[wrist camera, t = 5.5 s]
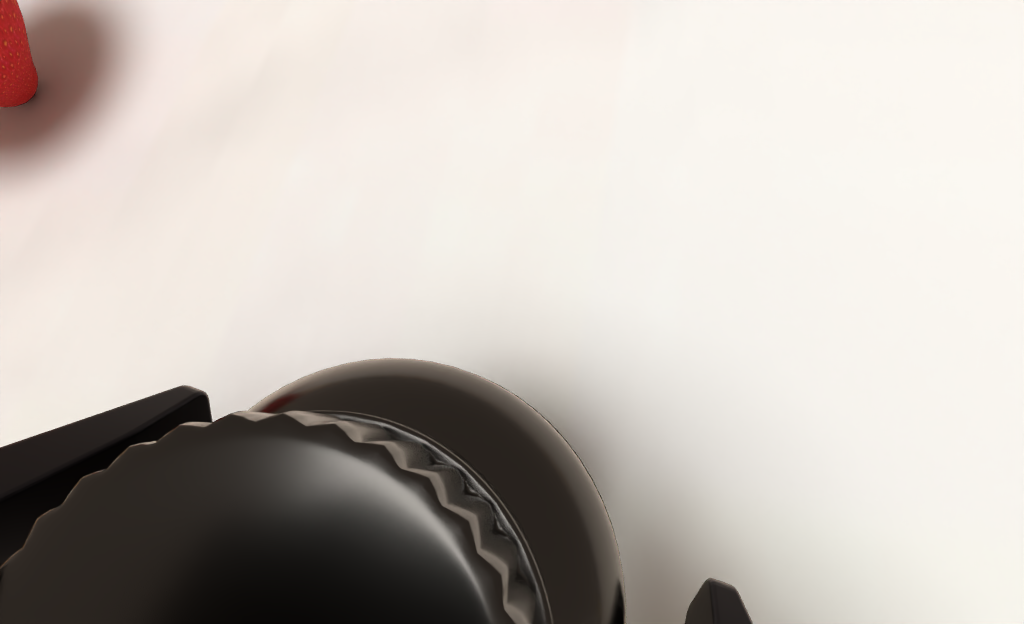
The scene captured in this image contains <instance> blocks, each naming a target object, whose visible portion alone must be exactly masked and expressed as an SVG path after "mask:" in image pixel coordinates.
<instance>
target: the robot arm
mask: <svg viewBox="0 0 1024 624" xmlns="http://www.w3.org/2000/svg"><path fill="white" fill-rule="evenodd" d="M188 422H207V423H212V416H211V410H210V403H209V398H208V395H207V394H206V392H204V391H202V390H199V389H196V388H194V387H191V386H185V385H184V386H179V387H176V388H173V389H170V390H167V391H164V392H161V393H158V394H155V395H152V396H150V397H147V398H144V399H141V400H138V401H135V402H132V403H129V404H126V405H123V406H120V407H117V408H114V409H112V410H109V411H106V412H103V413H100V414H97V415H94V416H91V417H88V418H85V419H82V420H79V421H76V422H74V423H71V424H68V425H65V426H62V427H59V428H56V429H53V430H50V431H47V432H44V433H41V434H39V435H36V436H33V437H30V438H27V439H24V440H21V441H18V442H15V443H12V444H9V445H6V446H3V447H1V448H0V566H1V565H2V564H3V563H4V562H5V561H6V560H7V559H8V558H10V557H11V556H12V555H13V554H14V553H16V552H17V551H18V550H19V549H21V548H22V547H23V545H24V543H25V541H26V539H27V537H28V534H29V532H30V530H31V529H32V527H33V525H34V523H35V521H36V520H37V518H38V517H40V516H41V515H43V514H44V513H46V512H47V511H49V510H51V509H53V508H56V507H58V506H60V505H61V504H63V502H64V501H65V499H66V498H67V496H68V495H69V493H70V492H71V490H72V489H73V488H74V486H75V485H76V484H77V482H78V481H79V480H80V479H81V478H82V477H84V476H86V475H89V474H91V473H94V472H97V471H101V470H105V469H107V468H108V467H109V466H110V465H111V464H112V463H113V462H114V461H115V459H116V458H117V457H118V456H119V455H120V454H121V453H122V452H124V451H125V450H126V449H127V448H128V447H129V446H132V445H135V444H139V443H145V442H152V441H158V440H159V439H160V438H162V437H163V436H164V435H165V434H167V433H168V432H169V431H171V430H172V429H174V428H175V427H177V426H178V425H180V424H184V423H188ZM685 624H753V623H752V621H751V619H750V616H749V614H748V612H747V610H746V608H745V606H744V604H743V602H742V599H741V597H740V595H739V593H738V591H737V590H736V589H735V588H734V587H733V586H732V585H730V584H727V583H724V582H721V581H719V580H716V579H713V578H709V579H707V580H706V581H705V582H704V584H703V585H702V587H701V588H700V590H699V591H698V593H697V595H696V596H695V598H694V599H693V601H692V602H691V604H690V606H689V608H688V611H687V615H686V620H685Z"/></svg>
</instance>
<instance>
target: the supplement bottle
mask: <svg viewBox="0 0 1024 624" xmlns="http://www.w3.org/2000/svg"><path fill="white" fill-rule="evenodd" d="M0 624H626V598H625V587H624V577H623V571H622V566H621V560H620V555H619V550H618V545H617V542H616V538H615V535H614V531H613V527H612V524H611V521H610V518H609V516H608V513H607V511H606V508H605V505H604V503H603V500H602V498H601V496H600V494H599V492H598V490H597V488H596V486H595V484H594V482H593V480H592V478H591V476H590V475H589V473H588V471H587V470H586V468H585V466H584V465H583V463H582V462H581V460H580V458H579V457H578V456H577V454H576V453H575V452H574V450H573V449H572V448H571V446H570V445H569V444H568V442H567V441H566V440H565V439H564V438H563V437H562V435H561V434H560V433H559V432H558V431H557V430H556V429H555V428H554V427H553V426H552V424H551V423H550V422H548V421H547V420H546V419H545V418H544V417H543V416H542V415H541V414H540V413H538V412H537V411H536V410H535V409H534V408H533V407H531V406H530V405H529V404H527V403H526V402H524V401H523V400H522V399H520V398H519V397H518V396H516V395H515V394H513V393H511V392H510V391H508V390H506V389H505V388H503V387H501V386H499V385H498V384H496V383H493V382H491V381H489V380H487V379H485V378H483V377H481V376H478V375H476V374H473V373H470V372H467V371H464V370H461V369H459V368H456V367H452V366H448V365H444V364H440V363H436V362H431V361H423V360H416V359H400V358H385V359H370V360H363V361H357V362H351V363H346V364H342V365H338V366H335V367H331V368H327V369H324V370H321V371H318V372H316V373H313V374H310V375H308V376H305V377H302V378H300V379H298V380H296V381H294V382H292V383H290V384H288V385H286V386H284V387H282V388H280V389H279V390H277V391H275V392H274V393H272V394H270V395H269V396H267V397H265V398H264V399H263V400H261V401H260V402H258V403H257V404H256V405H254V406H253V407H252V408H250V409H249V410H248V411H239V412H235V413H231V414H229V415H227V416H225V417H222V418H220V419H218V420H216V421H214V422H213V423H207V422H188V423H184V424H180V425H178V426H177V427H175V428H174V429H172V430H171V431H169V432H168V433H167V434H165V435H164V436H163V437H162V438H160V439H159V440H158V441H152V442H145V443H139V444H135V445H132V446H129V447H128V448H127V449H126V450H125V451H124V452H122V453H121V454H120V455H119V456H118V457H117V458H116V459H115V461H114V462H113V463H112V464H111V465H110V466H109V467H108V468H107V469H105V470H101V471H97V472H94V473H91V474H89V475H86V476H84V477H82V478H81V479H80V480H79V481H78V482H77V484H76V485H75V486H74V488H73V489H72V490H71V492H70V493H69V495H68V496H67V498H66V499H65V501H64V502H63V504H61V505H60V506H58V507H56V508H53V509H51V510H49V511H47V512H46V513H44V514H43V515H41V516H40V517H38V518H37V520H36V521H35V523H34V525H33V527H32V529H31V530H30V532H29V534H28V537H27V539H26V541H25V543H24V545H23V547H22V548H21V549H19V550H18V551H17V552H16V553H14V554H13V555H12V556H11V557H10V558H8V559H7V560H6V561H5V562H4V563H3V564H2V565H1V566H0Z"/></svg>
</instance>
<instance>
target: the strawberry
mask: <svg viewBox="0 0 1024 624" xmlns="http://www.w3.org/2000/svg"><path fill="white" fill-rule="evenodd" d="M37 86H38V76H37V72H36V68H35V66H34V64H33V61H32V57H31V53H30V48H29V43H28V38H27V34H26V29H25V24H24V20H23V16H22V14H21V11H20V8H19V6H18V3H17V0H0V107H12V106H18V105H21V104H24V103H26V102H27V101H29V100H30V99H31V98H32V97H33V95H34V94H35V92H36V90H37Z"/></svg>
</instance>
